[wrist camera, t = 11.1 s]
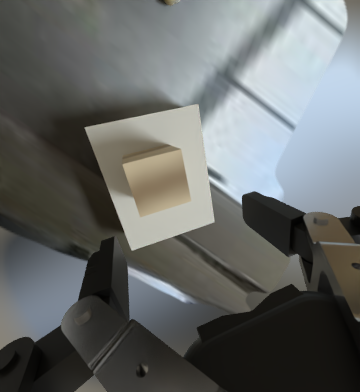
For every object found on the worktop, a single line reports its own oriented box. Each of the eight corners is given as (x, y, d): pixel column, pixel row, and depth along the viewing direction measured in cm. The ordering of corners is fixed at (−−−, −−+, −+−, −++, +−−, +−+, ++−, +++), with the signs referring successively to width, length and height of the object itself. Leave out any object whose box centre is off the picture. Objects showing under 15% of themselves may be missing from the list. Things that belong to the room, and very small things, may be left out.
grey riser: (91, 127, 25) (84, 127, 21) (186, 107, 28) (198, 104, 23) (130, 233, 32) (131, 250, 28) (202, 210, 35) (214, 222, 30)
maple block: (122, 155, 23) (122, 164, 17) (168, 144, 24) (181, 149, 18) (136, 198, 25) (140, 217, 20) (177, 186, 26) (191, 201, 21)
